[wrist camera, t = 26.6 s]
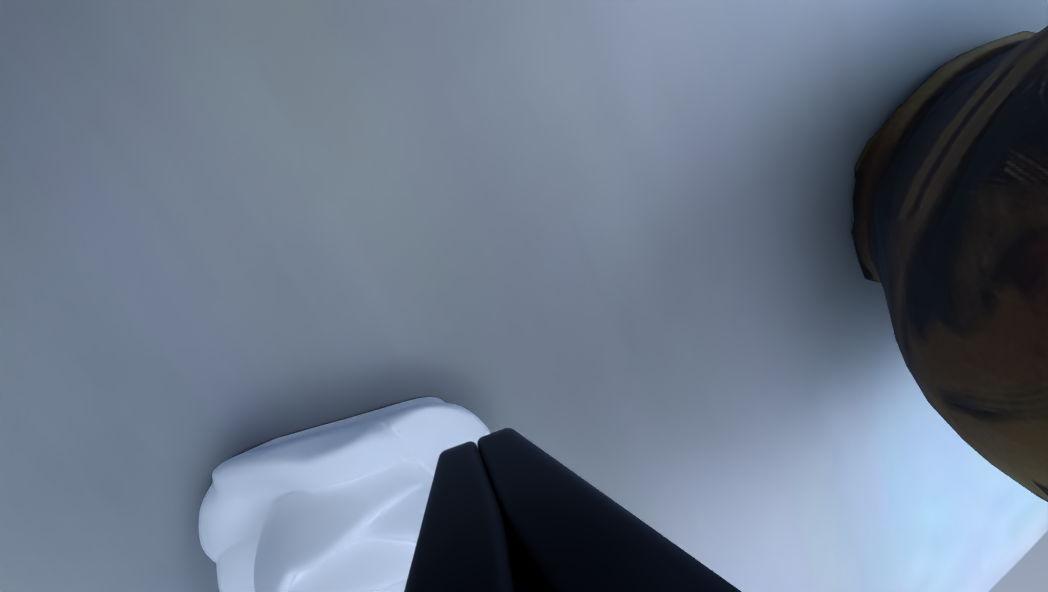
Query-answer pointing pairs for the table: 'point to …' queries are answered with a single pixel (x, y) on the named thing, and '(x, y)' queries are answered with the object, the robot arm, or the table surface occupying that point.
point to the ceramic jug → (969, 246)
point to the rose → (331, 501)
